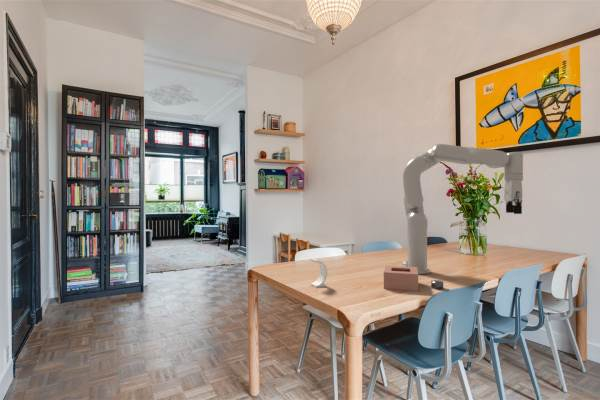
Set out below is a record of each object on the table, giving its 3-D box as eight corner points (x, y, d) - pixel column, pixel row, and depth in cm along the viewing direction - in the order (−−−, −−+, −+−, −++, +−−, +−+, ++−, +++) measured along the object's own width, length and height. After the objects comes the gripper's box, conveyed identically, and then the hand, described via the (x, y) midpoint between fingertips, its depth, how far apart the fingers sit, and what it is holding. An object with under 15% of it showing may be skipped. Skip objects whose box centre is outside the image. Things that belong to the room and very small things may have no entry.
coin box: (383, 288, 140) (383, 272, 140) (385, 280, 153) (385, 265, 153) (418, 291, 136) (418, 274, 136) (416, 282, 149) (416, 267, 149)
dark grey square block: (429, 287, 140) (428, 281, 140) (435, 286, 143) (435, 279, 143) (439, 290, 136) (439, 283, 136) (445, 288, 139) (445, 282, 139)
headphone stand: (310, 285, 146) (310, 258, 146) (321, 283, 149) (321, 257, 149) (316, 287, 142) (315, 260, 142) (327, 285, 145) (327, 259, 145)
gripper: (498, 178, 166) (498, 212, 167) (511, 177, 150) (511, 214, 150) (515, 178, 164) (515, 212, 165) (530, 176, 148) (530, 214, 148)
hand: (513, 213), depth 157 cm, fingers open, 9 cm apart
